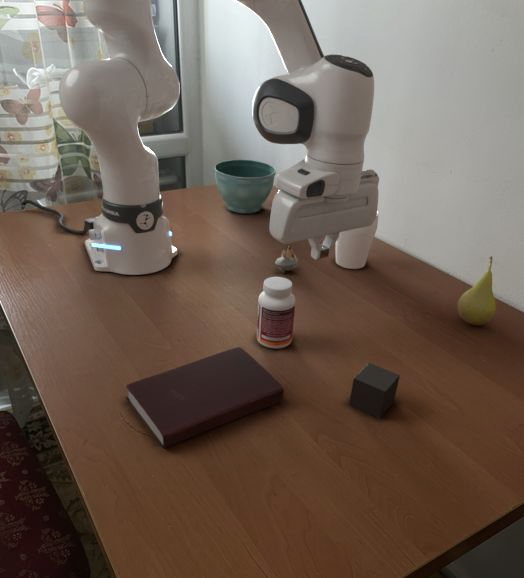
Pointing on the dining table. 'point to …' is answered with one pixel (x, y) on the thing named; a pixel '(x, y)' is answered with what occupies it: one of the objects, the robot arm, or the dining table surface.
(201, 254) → the dining table surface
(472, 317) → the fruit
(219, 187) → the flower pot
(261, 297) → the pill bottle
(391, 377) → the charcoal block
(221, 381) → the book
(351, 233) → the cup
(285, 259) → the figurine
